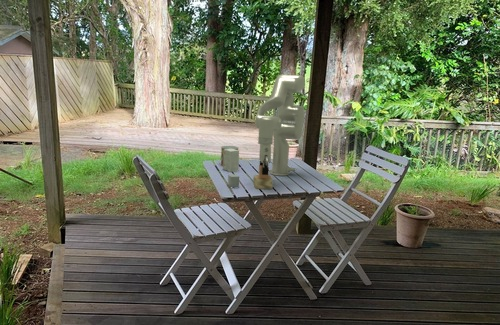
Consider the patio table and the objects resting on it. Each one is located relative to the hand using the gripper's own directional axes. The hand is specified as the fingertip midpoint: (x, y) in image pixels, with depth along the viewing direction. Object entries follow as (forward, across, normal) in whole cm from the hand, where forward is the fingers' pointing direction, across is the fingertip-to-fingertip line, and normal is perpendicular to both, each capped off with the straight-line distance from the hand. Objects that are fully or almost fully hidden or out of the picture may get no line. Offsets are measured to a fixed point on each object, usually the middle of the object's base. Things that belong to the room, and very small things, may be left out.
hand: (263, 172), depth 200 cm
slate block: (+8, -1, +16) cm, 18 cm away
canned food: (+8, +49, +15) cm, 52 cm away
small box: (+8, +35, +15) cm, 39 cm away
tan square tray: (+8, 0, 0) cm, 8 cm away
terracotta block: (+3, 0, 0) cm, 3 cm away
